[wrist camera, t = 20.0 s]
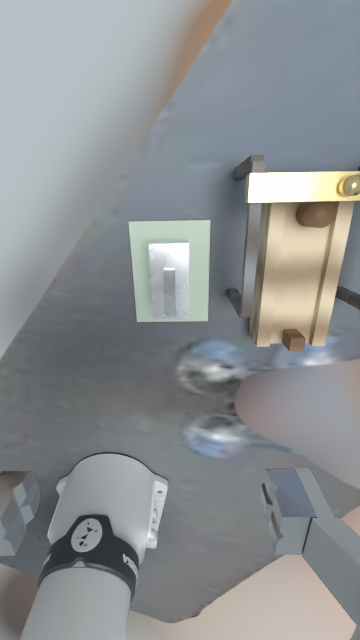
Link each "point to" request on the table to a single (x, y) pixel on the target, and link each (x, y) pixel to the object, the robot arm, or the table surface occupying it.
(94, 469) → the robot arm
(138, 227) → the sage mat
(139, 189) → the table surface
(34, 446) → the table surface
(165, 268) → the grey block with handle
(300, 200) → the brass bolt
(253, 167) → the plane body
